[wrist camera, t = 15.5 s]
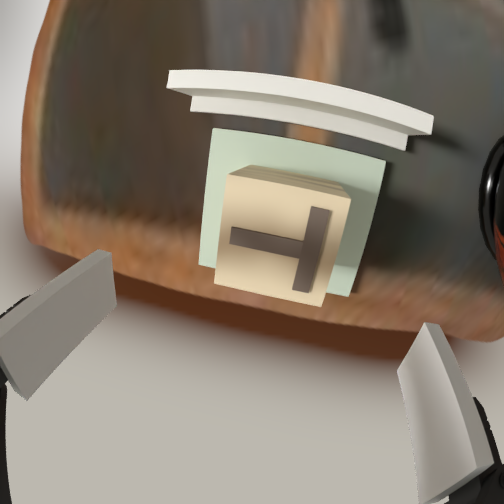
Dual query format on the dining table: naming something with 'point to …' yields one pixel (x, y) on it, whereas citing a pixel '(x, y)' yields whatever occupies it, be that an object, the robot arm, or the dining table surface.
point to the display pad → (303, 162)
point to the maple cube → (280, 233)
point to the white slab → (301, 104)
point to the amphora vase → (493, 204)
